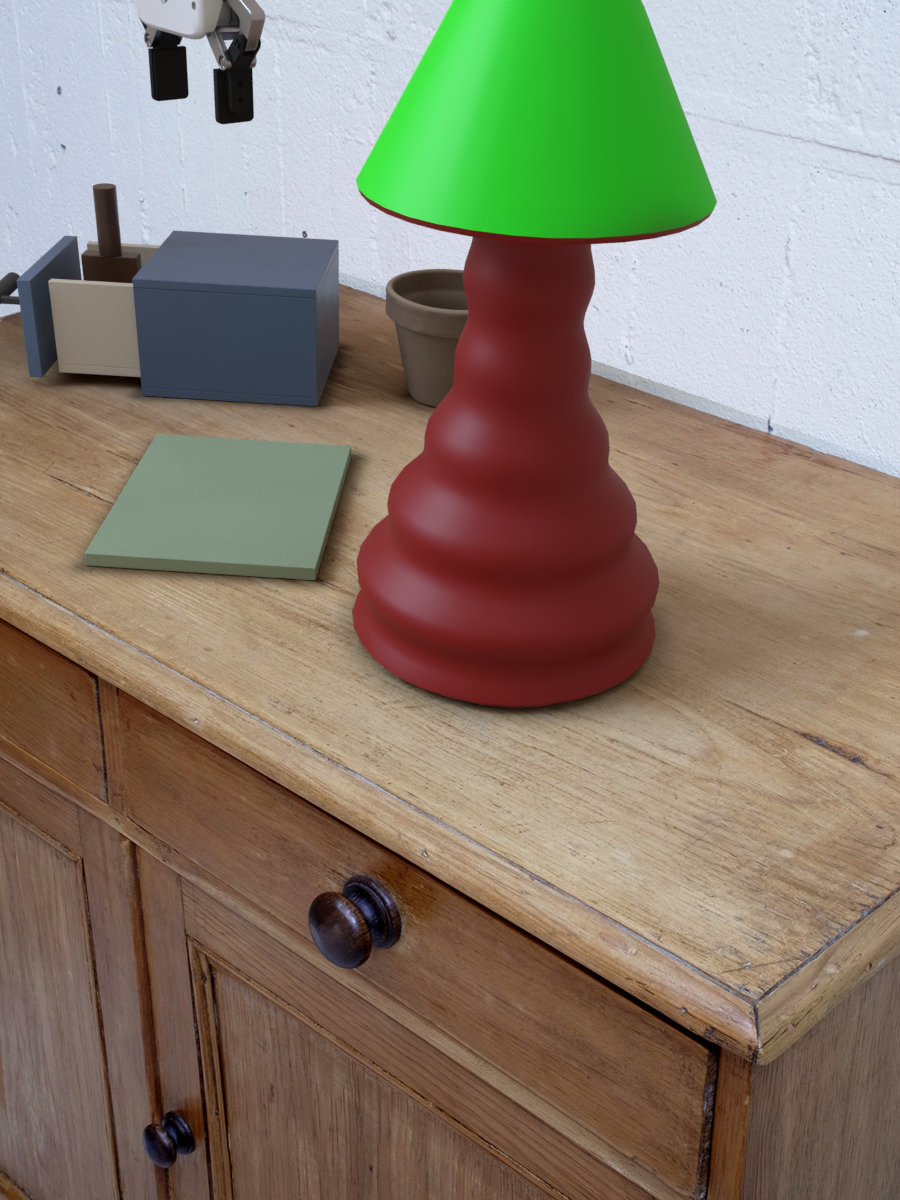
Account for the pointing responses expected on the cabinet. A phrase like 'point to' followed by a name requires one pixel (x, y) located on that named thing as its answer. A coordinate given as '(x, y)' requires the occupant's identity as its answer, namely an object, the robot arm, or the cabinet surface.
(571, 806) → the cabinet surface
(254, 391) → the cabinet
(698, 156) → the table lamp
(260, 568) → the mat
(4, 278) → the drawer
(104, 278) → the paddle
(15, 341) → the cabinet surface
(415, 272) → the flower pot
